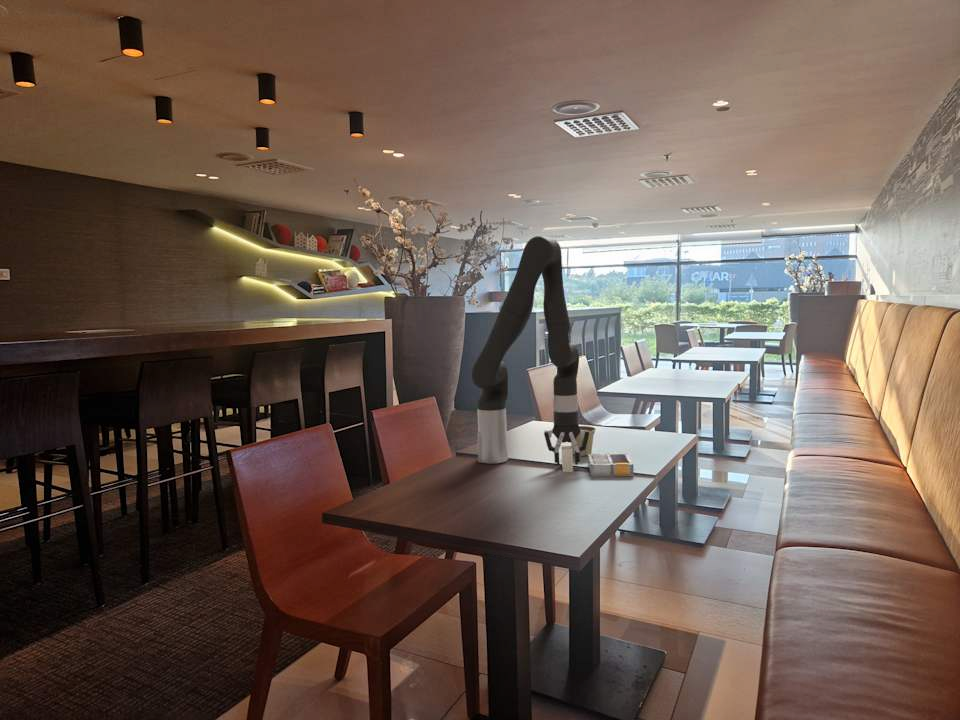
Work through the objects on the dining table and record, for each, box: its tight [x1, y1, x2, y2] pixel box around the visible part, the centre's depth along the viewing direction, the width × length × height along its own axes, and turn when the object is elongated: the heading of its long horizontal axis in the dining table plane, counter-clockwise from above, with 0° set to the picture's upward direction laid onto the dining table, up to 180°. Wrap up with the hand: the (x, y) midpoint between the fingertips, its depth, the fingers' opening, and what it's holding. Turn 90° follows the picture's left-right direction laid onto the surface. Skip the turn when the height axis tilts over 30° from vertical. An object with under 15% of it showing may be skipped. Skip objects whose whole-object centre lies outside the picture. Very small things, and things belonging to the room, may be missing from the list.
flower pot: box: [571, 425, 597, 457], centre depth 207 cm, size 9×9×9 cm
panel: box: [561, 442, 574, 473], centre depth 190 cm, size 3×8×7 cm, turn 174°
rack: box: [587, 452, 634, 478], centre depth 186 cm, size 12×13×4 cm
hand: (567, 463), depth 191 cm, fingers open, 5 cm apart
